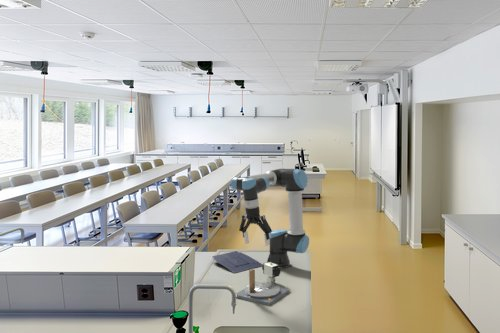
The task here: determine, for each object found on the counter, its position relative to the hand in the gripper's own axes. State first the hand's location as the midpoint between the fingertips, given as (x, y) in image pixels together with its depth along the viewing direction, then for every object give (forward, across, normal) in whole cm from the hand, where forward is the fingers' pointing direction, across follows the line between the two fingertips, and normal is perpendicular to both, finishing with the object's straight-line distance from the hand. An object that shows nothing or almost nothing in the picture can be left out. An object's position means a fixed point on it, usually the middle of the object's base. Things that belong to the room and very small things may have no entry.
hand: (257, 244), depth 240 cm
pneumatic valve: (+29, -3, +14) cm, 32 cm away
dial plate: (+27, +2, -4) cm, 27 cm away
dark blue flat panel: (+29, -42, +31) cm, 60 cm away
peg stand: (+25, +2, -4) cm, 26 cm away
